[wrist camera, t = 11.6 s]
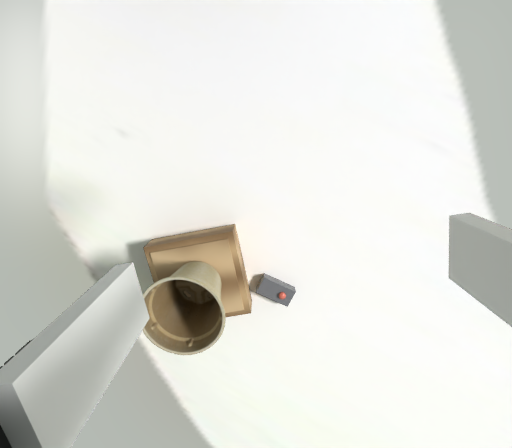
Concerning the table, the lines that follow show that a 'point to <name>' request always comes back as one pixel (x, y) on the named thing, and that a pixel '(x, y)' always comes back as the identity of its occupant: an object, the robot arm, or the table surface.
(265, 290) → the clicker
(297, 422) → the table surface
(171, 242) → the plinth
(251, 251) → the table surface
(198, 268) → the flower pot
